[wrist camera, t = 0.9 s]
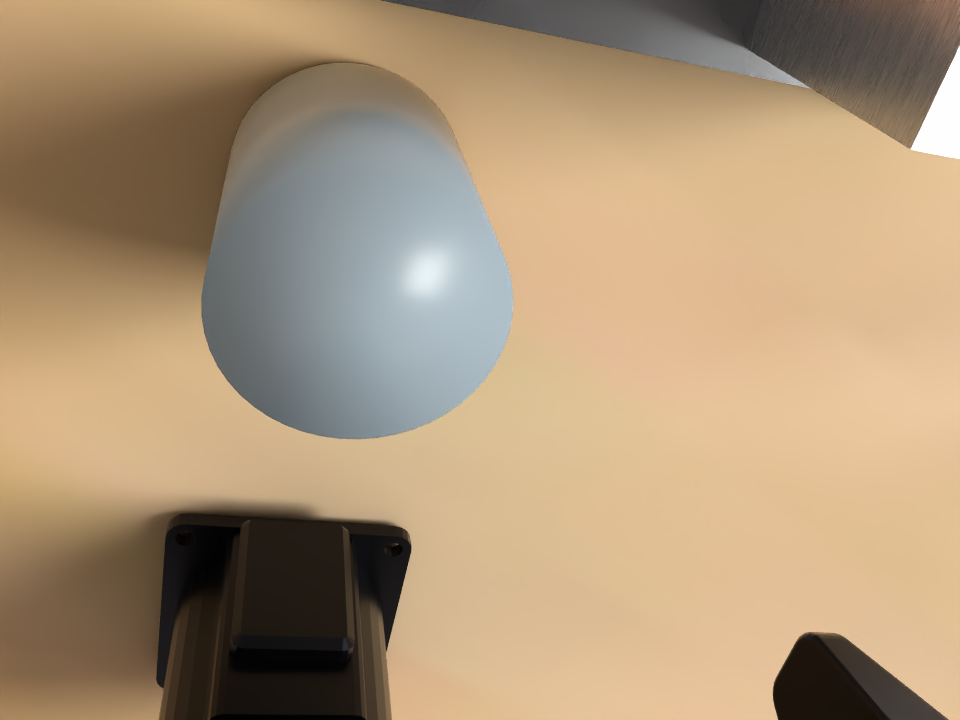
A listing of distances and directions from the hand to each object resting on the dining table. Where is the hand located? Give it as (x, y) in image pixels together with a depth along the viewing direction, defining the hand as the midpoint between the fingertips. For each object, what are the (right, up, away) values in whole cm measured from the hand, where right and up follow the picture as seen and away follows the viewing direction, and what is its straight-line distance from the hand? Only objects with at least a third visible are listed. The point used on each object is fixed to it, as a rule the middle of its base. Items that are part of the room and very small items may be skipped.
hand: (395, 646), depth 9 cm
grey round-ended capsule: (-2, +7, +11) cm, 13 cm away
